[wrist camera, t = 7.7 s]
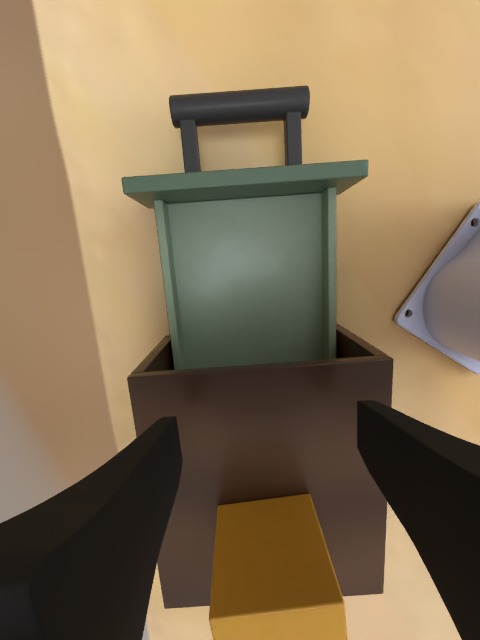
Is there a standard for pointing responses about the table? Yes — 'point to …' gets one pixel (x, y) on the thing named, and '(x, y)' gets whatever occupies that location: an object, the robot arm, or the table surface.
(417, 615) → the table surface
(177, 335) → the drawer
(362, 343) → the cabinet
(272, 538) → the cube
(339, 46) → the table surface
